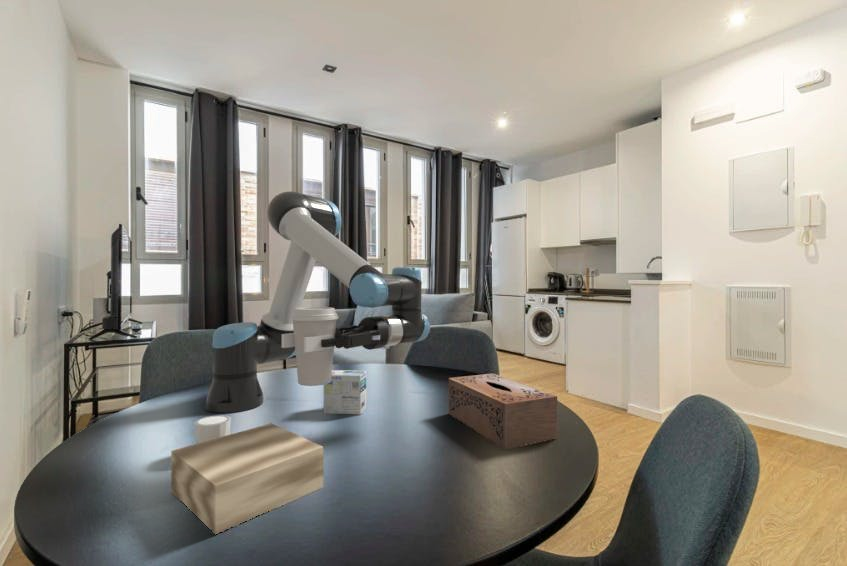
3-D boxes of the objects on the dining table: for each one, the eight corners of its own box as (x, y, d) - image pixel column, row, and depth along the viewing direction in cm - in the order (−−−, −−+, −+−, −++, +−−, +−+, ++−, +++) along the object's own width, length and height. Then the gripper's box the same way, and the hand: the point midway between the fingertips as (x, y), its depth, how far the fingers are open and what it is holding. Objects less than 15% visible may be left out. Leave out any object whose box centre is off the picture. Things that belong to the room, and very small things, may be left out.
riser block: (171, 492, 69) (171, 450, 69) (271, 457, 82) (271, 423, 82) (215, 535, 57) (215, 485, 57) (323, 487, 70) (323, 446, 70)
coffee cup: (287, 379, 85) (287, 307, 85) (333, 374, 89) (333, 306, 89) (292, 390, 76) (293, 310, 76) (343, 385, 80) (343, 309, 80)
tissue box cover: (557, 439, 92) (557, 396, 92) (505, 450, 87) (505, 403, 87) (493, 408, 116) (493, 373, 116) (448, 414, 110) (448, 378, 110)
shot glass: (193, 463, 80) (193, 427, 80) (194, 450, 86) (194, 417, 86) (231, 456, 83) (231, 422, 83) (230, 444, 89) (230, 412, 89)
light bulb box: (367, 407, 115) (367, 369, 115) (361, 415, 109) (361, 375, 109) (330, 406, 116) (330, 369, 116) (322, 414, 110) (322, 374, 110)
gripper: (410, 352, 90) (324, 369, 72) (351, 343, 102) (266, 356, 85) (410, 318, 90) (324, 327, 72) (351, 314, 102) (266, 320, 85)
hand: (293, 342), depth 78 cm, fingers closed on coffee cup, 7 cm apart
